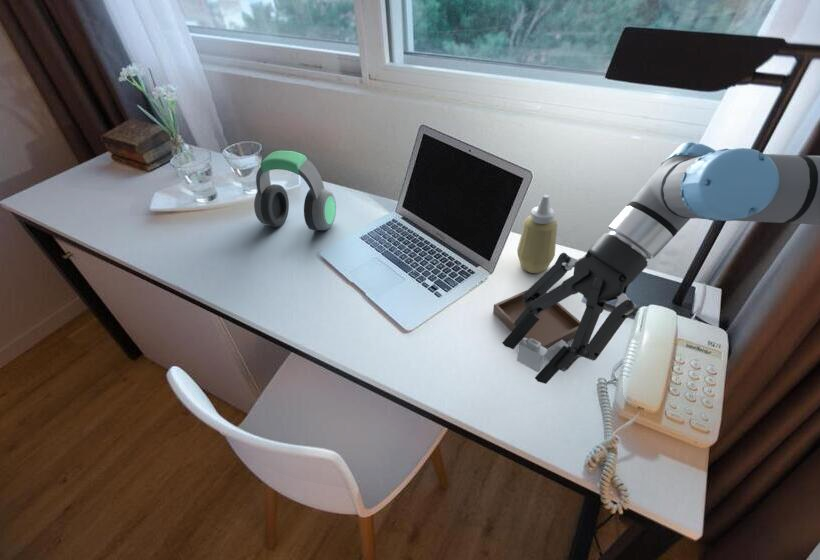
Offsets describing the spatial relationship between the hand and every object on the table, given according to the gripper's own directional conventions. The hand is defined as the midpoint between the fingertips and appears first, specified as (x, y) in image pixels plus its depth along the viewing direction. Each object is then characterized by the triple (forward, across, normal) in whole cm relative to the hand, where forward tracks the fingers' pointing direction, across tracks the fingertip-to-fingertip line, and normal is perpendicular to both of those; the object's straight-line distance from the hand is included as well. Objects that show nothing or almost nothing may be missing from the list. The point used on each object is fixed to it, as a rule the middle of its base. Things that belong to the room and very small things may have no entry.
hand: (523, 362), depth 67 cm
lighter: (0, 0, -5) cm, 5 cm away
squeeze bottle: (-11, +25, -24) cm, 36 cm away
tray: (-4, +11, -16) cm, 20 cm away
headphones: (+18, +70, +6) cm, 73 cm away
